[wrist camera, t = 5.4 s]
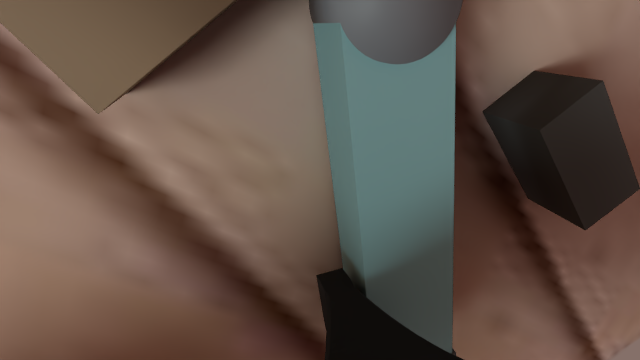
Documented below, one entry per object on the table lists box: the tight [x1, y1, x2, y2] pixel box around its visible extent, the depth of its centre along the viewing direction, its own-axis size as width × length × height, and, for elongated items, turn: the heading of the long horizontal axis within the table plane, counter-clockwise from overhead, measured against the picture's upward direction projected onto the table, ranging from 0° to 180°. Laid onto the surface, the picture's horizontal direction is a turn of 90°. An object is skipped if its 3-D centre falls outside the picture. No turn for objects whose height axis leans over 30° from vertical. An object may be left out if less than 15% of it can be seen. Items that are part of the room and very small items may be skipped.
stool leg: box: [309, 0, 463, 356], centre depth 11 cm, size 12×3×3 cm, turn 7°
